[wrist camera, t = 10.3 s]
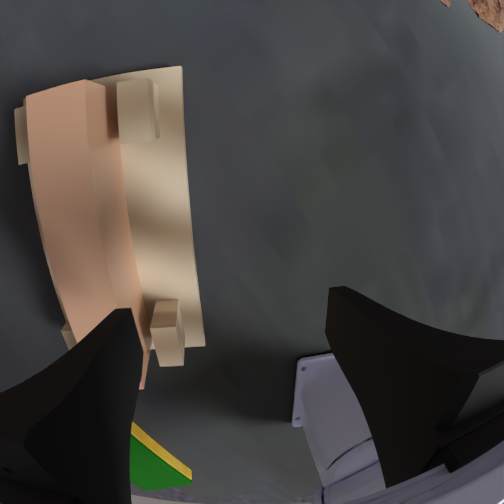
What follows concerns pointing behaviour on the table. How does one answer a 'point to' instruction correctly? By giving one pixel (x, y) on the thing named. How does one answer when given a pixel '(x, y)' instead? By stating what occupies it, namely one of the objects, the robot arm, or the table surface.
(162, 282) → the birch rack
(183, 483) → the dish sponge
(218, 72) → the table surface
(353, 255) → the table surface
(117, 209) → the clay strip
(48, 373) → the robot arm
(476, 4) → the bark
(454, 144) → the table surface
